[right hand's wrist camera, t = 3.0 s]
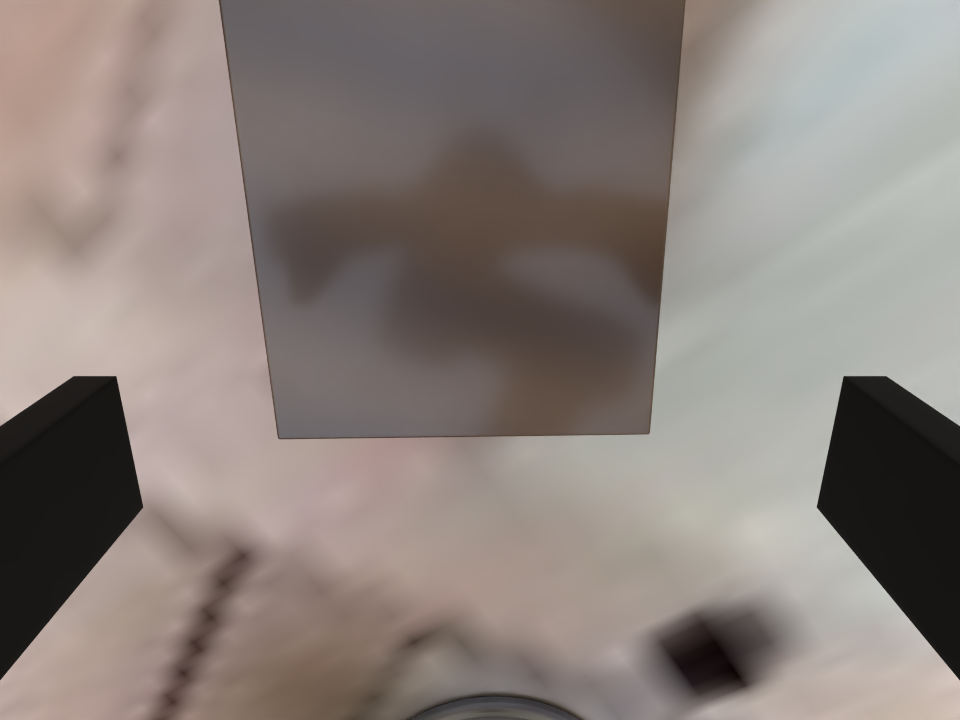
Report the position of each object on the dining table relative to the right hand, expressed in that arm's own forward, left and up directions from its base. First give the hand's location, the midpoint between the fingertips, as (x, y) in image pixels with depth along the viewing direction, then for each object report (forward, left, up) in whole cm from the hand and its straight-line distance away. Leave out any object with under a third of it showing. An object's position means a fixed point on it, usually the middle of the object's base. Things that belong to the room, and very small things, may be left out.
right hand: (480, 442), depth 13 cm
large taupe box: (+4, +6, -18) cm, 20 cm away
